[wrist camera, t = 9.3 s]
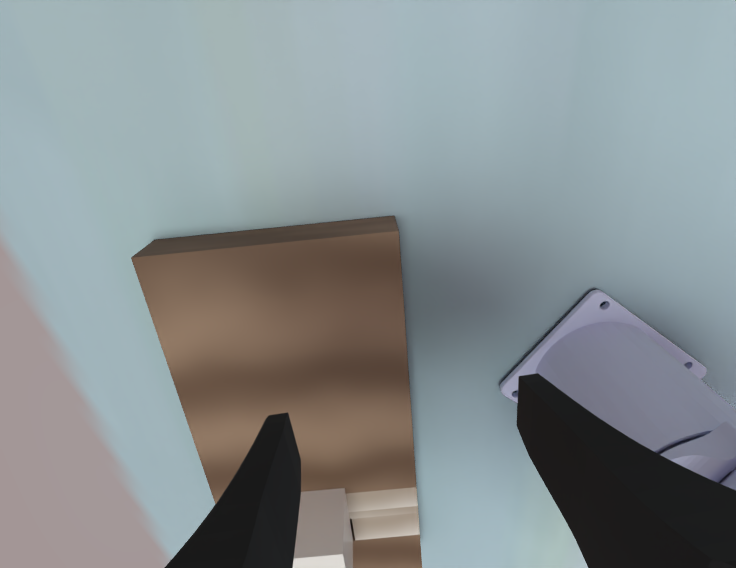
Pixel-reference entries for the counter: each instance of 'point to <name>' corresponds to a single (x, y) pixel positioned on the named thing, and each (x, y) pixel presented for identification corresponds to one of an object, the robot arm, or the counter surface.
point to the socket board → (297, 362)
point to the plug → (323, 531)
